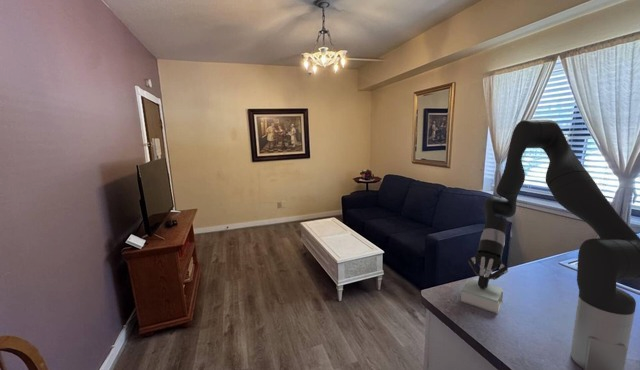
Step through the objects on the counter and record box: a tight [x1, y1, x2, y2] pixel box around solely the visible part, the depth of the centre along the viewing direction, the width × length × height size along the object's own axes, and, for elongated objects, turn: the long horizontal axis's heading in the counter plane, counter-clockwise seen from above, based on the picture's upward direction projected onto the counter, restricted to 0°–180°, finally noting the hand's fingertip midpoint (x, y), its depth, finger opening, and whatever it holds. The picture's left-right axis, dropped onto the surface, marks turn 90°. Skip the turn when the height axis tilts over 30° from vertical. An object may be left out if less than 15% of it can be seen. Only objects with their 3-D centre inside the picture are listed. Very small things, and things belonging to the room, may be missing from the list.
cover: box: [461, 278, 504, 303], centre depth 92 cm, size 11×9×1 cm
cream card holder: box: [460, 290, 504, 315], centre depth 92 cm, size 11×9×4 cm
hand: (482, 287), depth 91 cm, fingers closed
